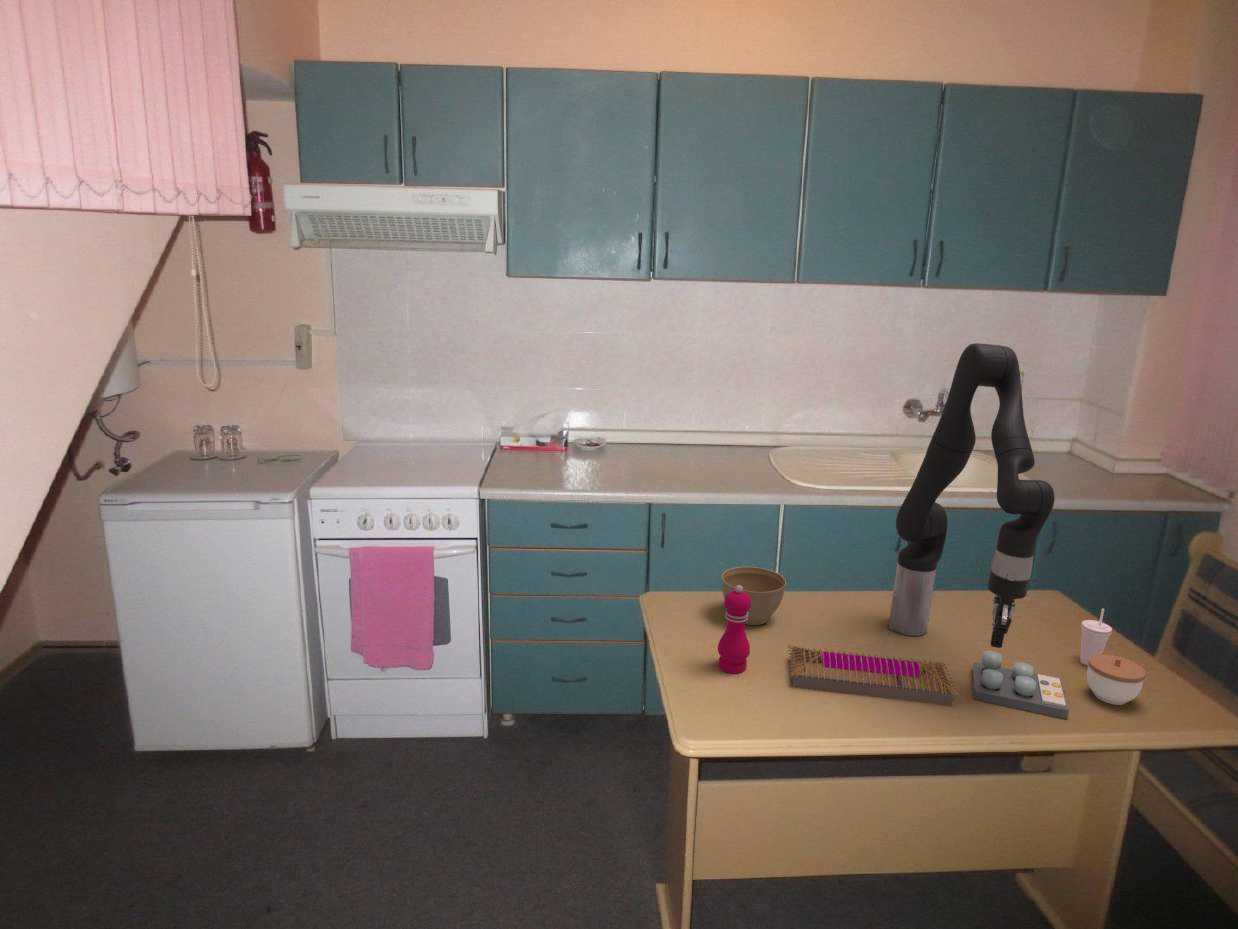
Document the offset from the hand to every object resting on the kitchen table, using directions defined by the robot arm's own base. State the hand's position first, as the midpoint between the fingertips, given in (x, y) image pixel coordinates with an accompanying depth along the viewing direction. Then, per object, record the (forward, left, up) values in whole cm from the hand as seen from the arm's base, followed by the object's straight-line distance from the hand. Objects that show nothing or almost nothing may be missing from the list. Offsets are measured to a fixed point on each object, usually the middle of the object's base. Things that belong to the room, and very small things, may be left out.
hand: (995, 645), depth 177 cm
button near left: (0, 0, -11) cm, 11 cm away
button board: (+6, +3, -12) cm, 13 cm away
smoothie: (+23, +26, -12) cm, 37 cm away
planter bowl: (-56, +14, -12) cm, 59 cm away
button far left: (0, +6, -10) cm, 12 cm away
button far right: (+7, +6, -11) cm, 15 cm away
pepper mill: (-54, -13, -12) cm, 57 cm away
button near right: (+7, 0, -11) cm, 13 cm away
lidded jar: (+25, +10, -12) cm, 30 cm away
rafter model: (-25, -6, -12) cm, 28 cm away
